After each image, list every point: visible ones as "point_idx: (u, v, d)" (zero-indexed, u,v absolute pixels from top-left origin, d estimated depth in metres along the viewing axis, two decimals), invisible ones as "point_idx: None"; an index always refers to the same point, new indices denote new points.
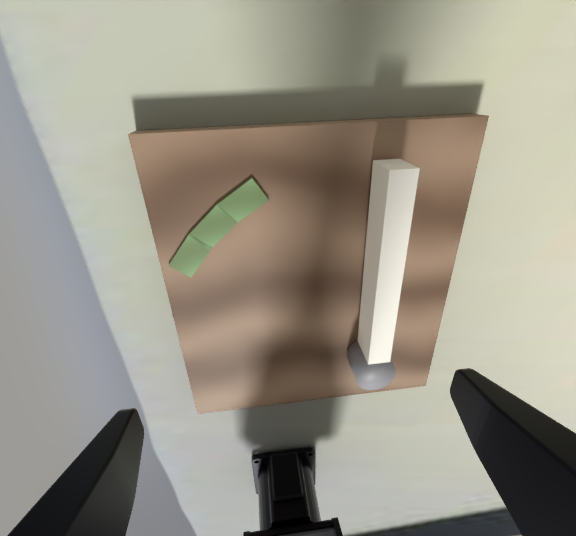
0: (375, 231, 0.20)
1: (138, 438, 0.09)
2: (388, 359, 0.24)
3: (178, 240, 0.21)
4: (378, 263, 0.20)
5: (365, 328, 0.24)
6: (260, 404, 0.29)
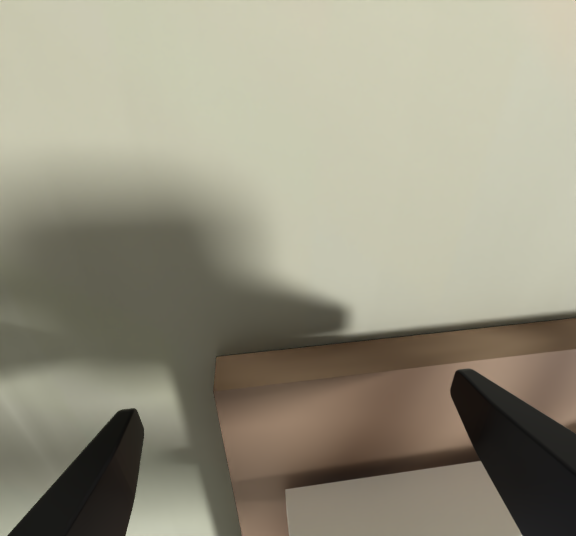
0: None
1: (138, 438, 0.09)
2: None
3: None
4: None
5: None
6: None
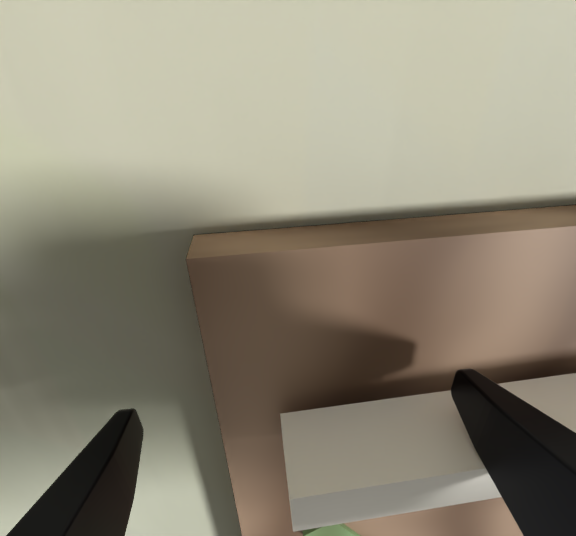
0: None
1: (137, 438, 0.09)
2: None
3: None
4: (482, 497, 0.10)
5: None
6: None
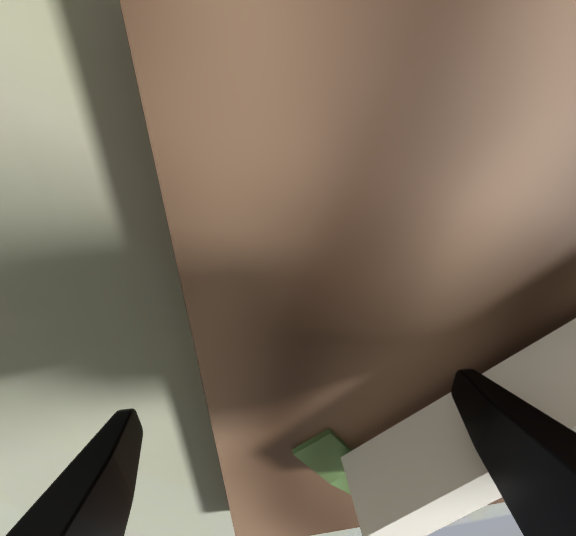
0: None
1: (137, 438, 0.09)
2: None
3: None
4: None
5: None
6: None
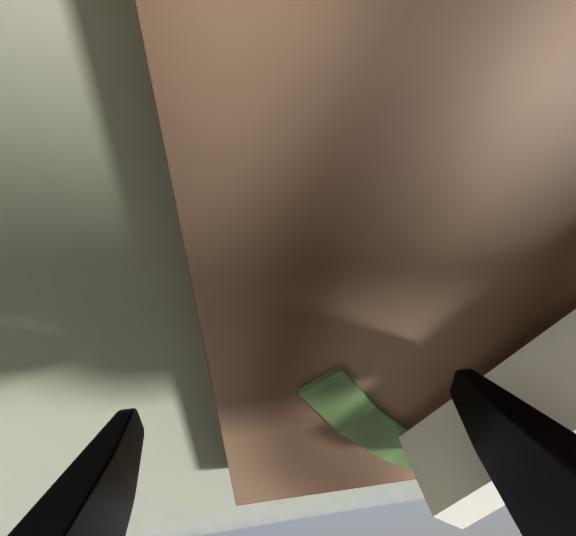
0: None
1: (138, 438, 0.09)
2: None
3: (388, 463, 0.13)
4: None
5: None
6: None
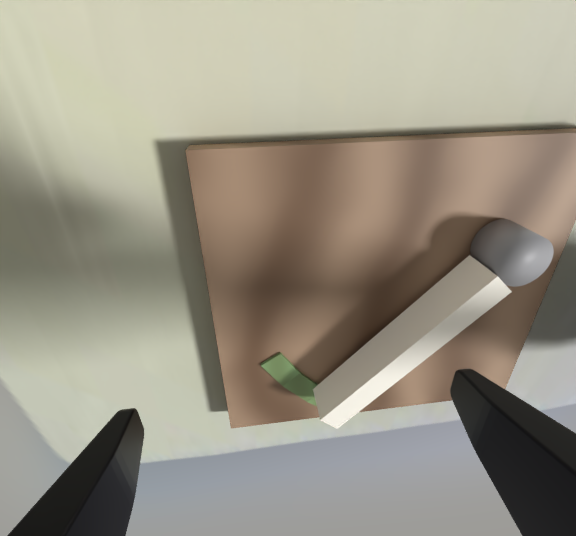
0: None
1: (138, 438, 0.09)
2: (494, 281, 0.18)
3: (312, 405, 0.25)
4: (399, 378, 0.21)
5: None
6: (521, 344, 0.25)
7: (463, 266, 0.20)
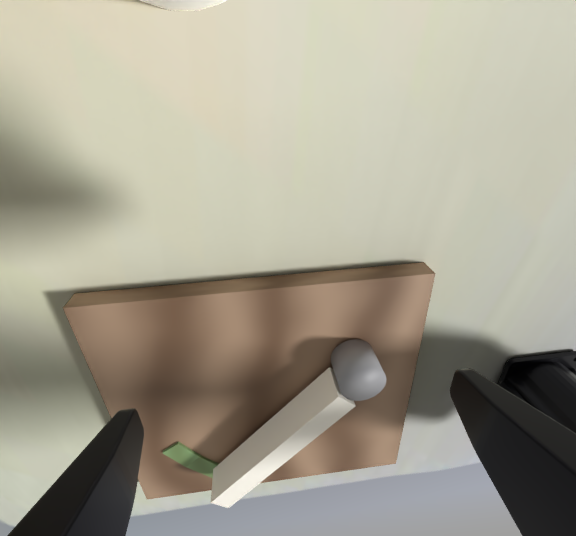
0: None
1: (138, 438, 0.09)
2: (337, 399, 0.21)
3: None
4: (274, 469, 0.24)
5: None
6: (400, 426, 0.28)
7: (323, 377, 0.23)
